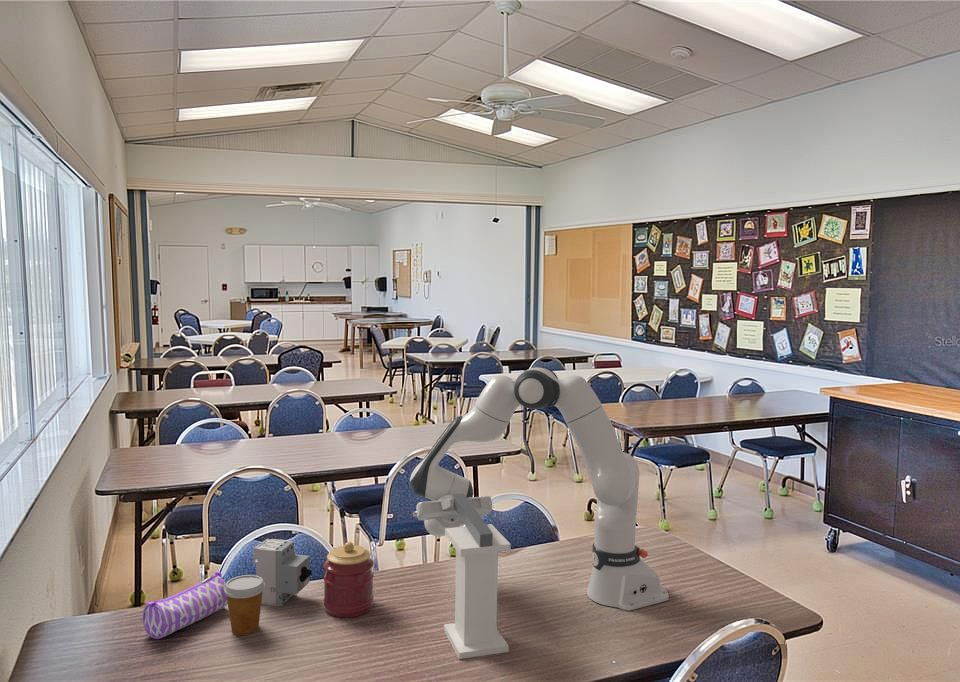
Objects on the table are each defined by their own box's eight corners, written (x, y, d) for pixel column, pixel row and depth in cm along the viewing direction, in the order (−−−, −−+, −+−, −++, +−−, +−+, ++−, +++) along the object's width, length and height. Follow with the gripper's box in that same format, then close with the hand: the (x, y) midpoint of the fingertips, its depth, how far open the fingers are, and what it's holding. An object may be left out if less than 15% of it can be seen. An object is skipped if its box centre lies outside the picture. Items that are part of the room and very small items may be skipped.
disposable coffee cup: (273, 623, 178) (272, 577, 177) (249, 641, 169) (248, 593, 168) (241, 617, 181) (240, 571, 180) (216, 634, 172) (215, 586, 171)
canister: (328, 622, 180) (327, 554, 178) (320, 600, 192) (319, 536, 190) (378, 614, 184) (378, 548, 183) (367, 593, 196) (367, 531, 195)
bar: (463, 504, 186) (463, 493, 185) (492, 545, 163) (492, 533, 163) (452, 505, 185) (452, 494, 184) (479, 547, 162) (480, 534, 162)
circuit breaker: (303, 608, 187) (302, 553, 185) (253, 602, 189) (252, 548, 188) (315, 596, 194) (315, 543, 193) (267, 590, 197) (266, 538, 195)
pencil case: (209, 600, 191) (208, 566, 190) (235, 608, 187) (234, 573, 186) (138, 637, 171) (137, 599, 170) (165, 646, 167) (164, 608, 166)
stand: (489, 623, 180) (491, 524, 178) (508, 651, 167) (510, 544, 164) (443, 630, 176) (445, 528, 174) (459, 659, 163) (460, 549, 161)
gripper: (409, 504, 192) (419, 492, 180) (481, 498, 199) (495, 486, 187) (412, 528, 190) (422, 517, 178) (485, 520, 196) (499, 510, 184)
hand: (460, 501), depth 182 cm, fingers closed on bar, 3 cm apart
